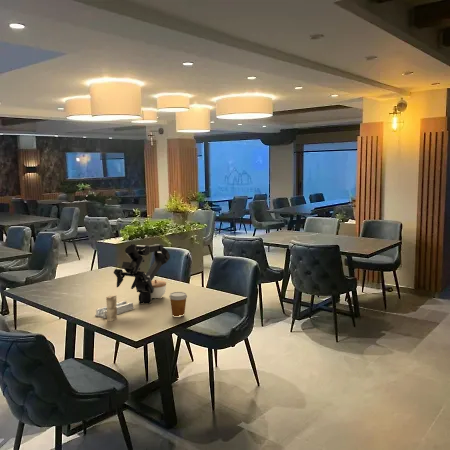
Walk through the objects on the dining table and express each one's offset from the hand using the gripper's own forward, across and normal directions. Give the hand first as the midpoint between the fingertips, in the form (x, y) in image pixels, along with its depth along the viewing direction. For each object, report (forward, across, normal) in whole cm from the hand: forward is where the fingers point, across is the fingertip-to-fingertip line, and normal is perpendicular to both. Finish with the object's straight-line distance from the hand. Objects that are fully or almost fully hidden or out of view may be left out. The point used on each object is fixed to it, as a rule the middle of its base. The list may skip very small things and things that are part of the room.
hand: (124, 287), depth 250 cm
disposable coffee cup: (+5, +29, +15) cm, 33 cm away
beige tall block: (+18, 0, +2) cm, 18 cm away
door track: (+10, -6, +9) cm, 15 cm away
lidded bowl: (-14, 0, +33) cm, 35 cm away
